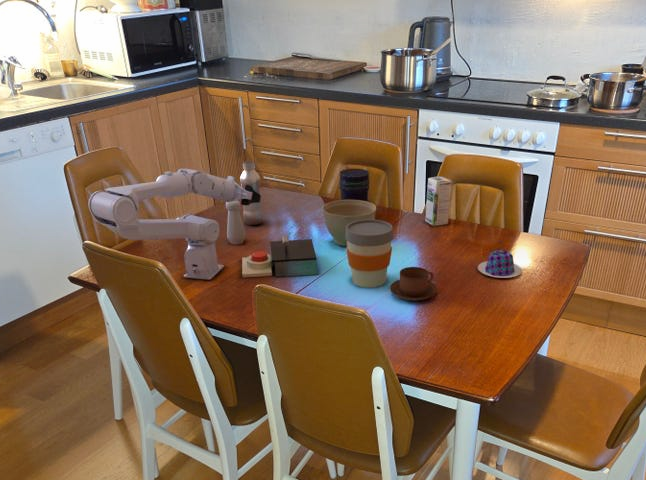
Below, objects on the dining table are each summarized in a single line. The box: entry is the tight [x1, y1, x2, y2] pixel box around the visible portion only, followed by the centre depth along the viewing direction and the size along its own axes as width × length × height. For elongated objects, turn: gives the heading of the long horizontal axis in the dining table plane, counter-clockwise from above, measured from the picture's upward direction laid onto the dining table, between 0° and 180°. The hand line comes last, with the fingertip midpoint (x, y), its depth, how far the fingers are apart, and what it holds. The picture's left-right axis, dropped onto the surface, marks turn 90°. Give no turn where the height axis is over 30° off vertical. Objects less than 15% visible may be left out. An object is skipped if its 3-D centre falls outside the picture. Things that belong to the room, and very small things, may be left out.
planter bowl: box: [322, 199, 377, 247], centre depth 195 cm, size 16×16×11 cm
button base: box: [241, 253, 274, 278], centre depth 181 cm, size 9×12×3 cm
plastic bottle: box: [239, 160, 264, 226], centre depth 208 cm, size 6×7×20 cm
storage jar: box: [338, 168, 370, 203], centre depth 214 cm, size 10×10×15 cm
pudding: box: [477, 249, 523, 279], centre depth 177 cm, size 12×12×5 cm
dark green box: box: [273, 259, 318, 278], centre depth 181 cm, size 11×14×4 cm
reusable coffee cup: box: [345, 219, 394, 289], centre depth 170 cm, size 13×13×15 cm
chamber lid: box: [269, 234, 318, 263], centre depth 179 cm, size 12×14×4 cm
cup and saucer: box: [389, 266, 438, 302], centre depth 164 cm, size 12×12×6 cm
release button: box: [250, 250, 268, 262], centre depth 180 cm, size 4×4×2 cm
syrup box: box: [424, 176, 452, 227], centre depth 209 cm, size 6×6×14 cm
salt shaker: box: [225, 200, 247, 245], centre depth 195 cm, size 6×6×13 cm
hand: (249, 196), depth 186 cm, fingers open, 7 cm apart
